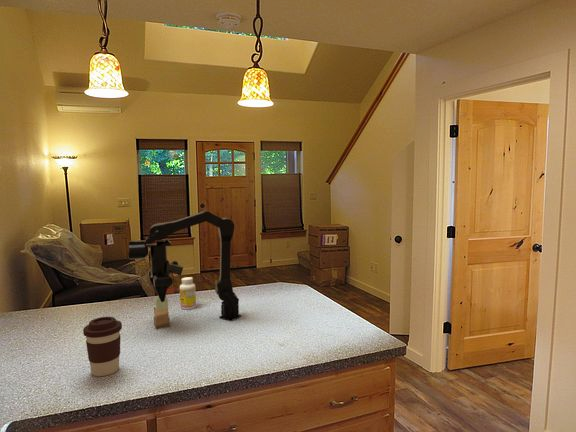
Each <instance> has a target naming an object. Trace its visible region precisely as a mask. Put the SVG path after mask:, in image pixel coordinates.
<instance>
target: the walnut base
mask: <svg viewBox="0 0 576 432" xmlns="http://www.w3.org/2000/svg"><path fill="white" fill-rule="evenodd" d="M170 320H171V319H170V317H169V318H164V319H158V320H156V318H155V316H154V315H153V324H154V325H153V326H154V328H155V330H159V329H163V328H170V327H171V323H170Z"/></svg>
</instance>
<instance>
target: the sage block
mask: <svg viewBox="0 0 576 432" xmlns="http://www.w3.org/2000/svg"><path fill="white" fill-rule="evenodd" d="M168 303H169V302H168V297H167V295H166V296H165V301H164V302H161V301H160V298H159V296H155V297H154V307H155V308H156V310H163V309H168V310H169V304H168Z"/></svg>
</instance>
